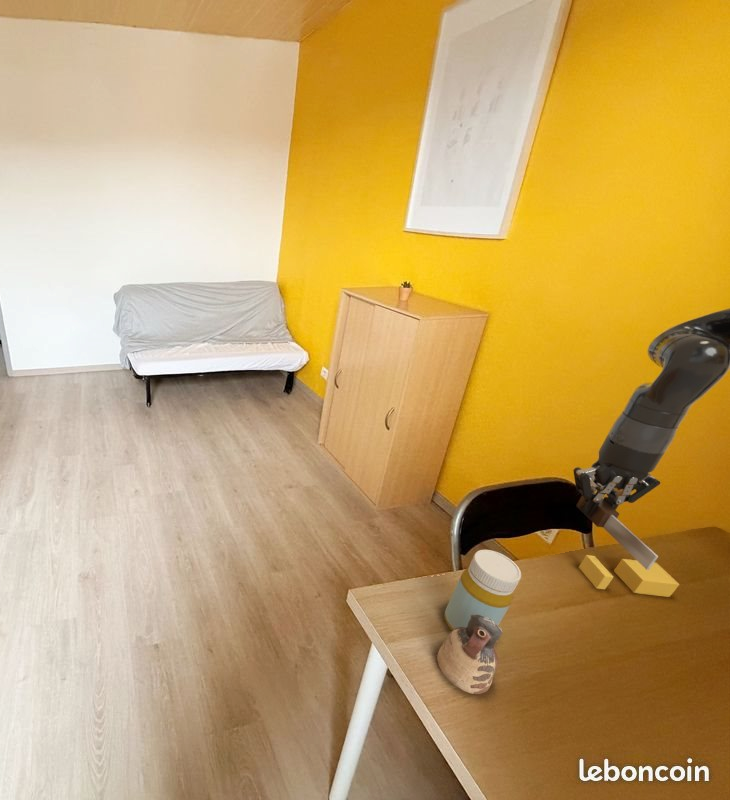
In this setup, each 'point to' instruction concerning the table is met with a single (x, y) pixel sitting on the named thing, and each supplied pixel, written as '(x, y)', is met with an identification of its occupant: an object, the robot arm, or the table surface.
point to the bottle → (483, 589)
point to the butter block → (646, 578)
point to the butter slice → (595, 572)
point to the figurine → (471, 655)
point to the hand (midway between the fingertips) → (593, 514)
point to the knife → (621, 533)
